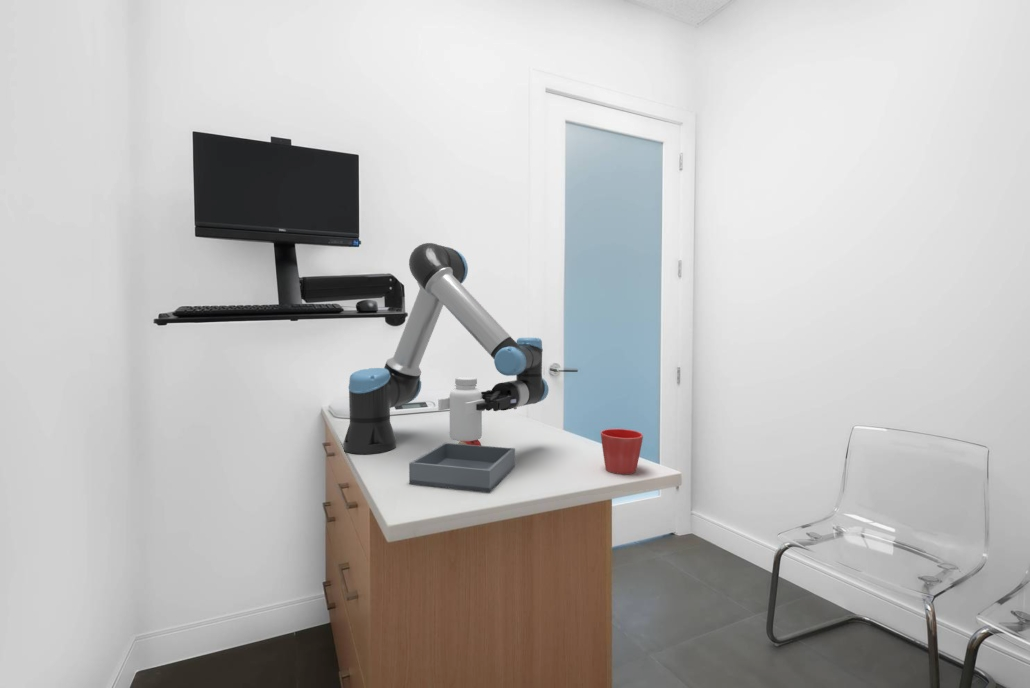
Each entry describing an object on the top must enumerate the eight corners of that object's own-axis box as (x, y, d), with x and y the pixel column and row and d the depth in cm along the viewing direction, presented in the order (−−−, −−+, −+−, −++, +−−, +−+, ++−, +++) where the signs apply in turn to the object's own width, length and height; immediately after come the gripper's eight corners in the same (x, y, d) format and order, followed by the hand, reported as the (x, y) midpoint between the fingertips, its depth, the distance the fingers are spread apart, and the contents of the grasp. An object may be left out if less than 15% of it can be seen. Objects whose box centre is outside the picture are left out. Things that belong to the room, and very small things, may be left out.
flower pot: (636, 464, 134) (637, 428, 134) (646, 476, 123) (647, 438, 123) (597, 463, 134) (597, 428, 134) (603, 476, 124) (604, 437, 123)
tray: (409, 483, 117) (409, 463, 117) (444, 460, 136) (444, 442, 136) (489, 492, 111) (489, 470, 111) (514, 467, 131) (514, 448, 130)
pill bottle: (486, 435, 126) (486, 376, 125) (473, 443, 118) (473, 380, 117) (458, 433, 129) (458, 375, 128) (443, 440, 121) (443, 379, 120)
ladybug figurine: (449, 454, 144) (449, 442, 144) (468, 446, 153) (468, 435, 152) (468, 457, 141) (468, 444, 141) (487, 449, 149) (487, 437, 149)
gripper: (540, 413, 132) (485, 428, 113) (480, 404, 144) (422, 417, 125) (540, 384, 131) (485, 395, 113) (480, 378, 143) (422, 387, 125)
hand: (452, 406), depth 119 cm, fingers closed on pill bottle, 8 cm apart
